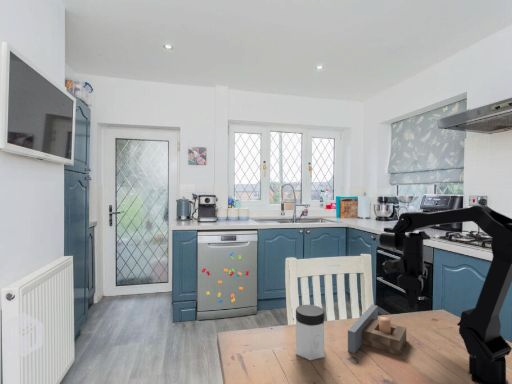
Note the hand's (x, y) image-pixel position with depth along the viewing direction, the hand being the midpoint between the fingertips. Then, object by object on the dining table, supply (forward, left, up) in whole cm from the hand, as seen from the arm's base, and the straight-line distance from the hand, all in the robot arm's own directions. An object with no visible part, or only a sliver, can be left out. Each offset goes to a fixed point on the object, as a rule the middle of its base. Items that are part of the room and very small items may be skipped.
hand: (413, 303), depth 86 cm
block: (+7, +6, -12) cm, 15 cm away
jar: (+23, +25, -12) cm, 36 cm away
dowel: (+7, +6, -12) cm, 15 cm away
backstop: (+13, +6, -12) cm, 19 cm away
